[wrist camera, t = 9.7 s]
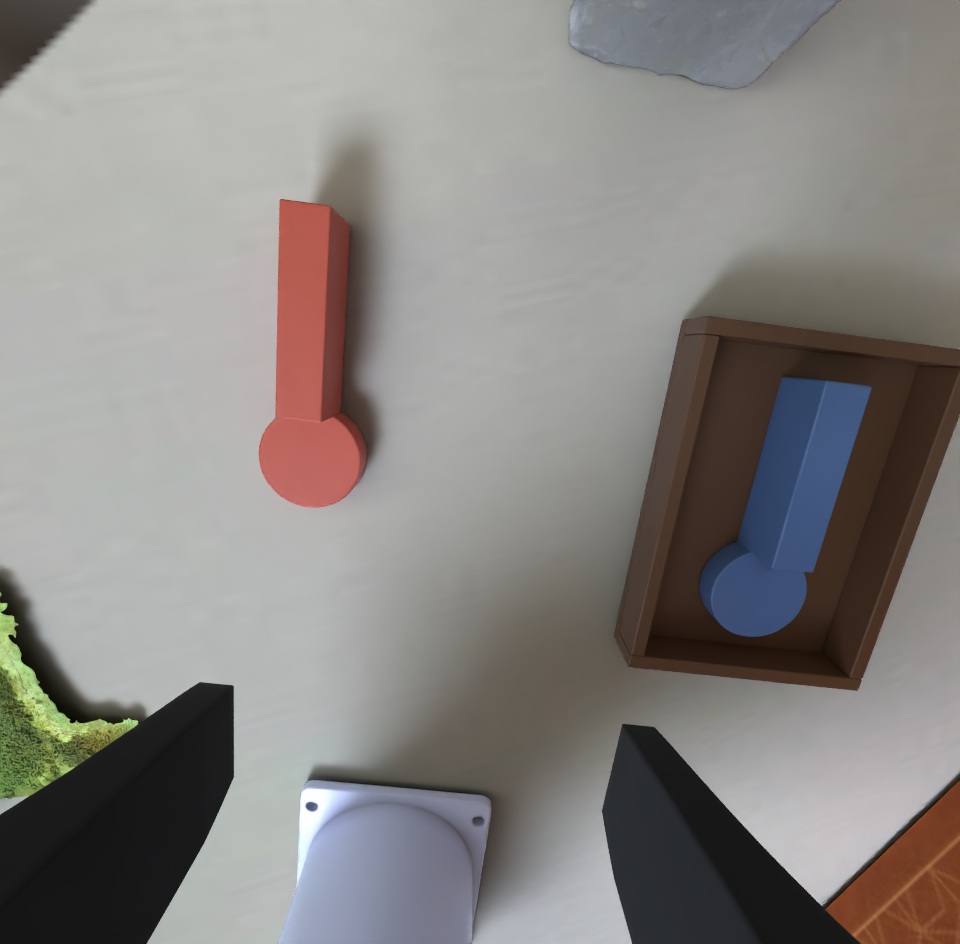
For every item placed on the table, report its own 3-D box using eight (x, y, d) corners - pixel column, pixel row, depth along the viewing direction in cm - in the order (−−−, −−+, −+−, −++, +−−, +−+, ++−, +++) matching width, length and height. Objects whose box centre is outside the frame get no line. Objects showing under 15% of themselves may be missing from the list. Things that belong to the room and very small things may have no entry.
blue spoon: (776, 626, 19) (814, 662, 16) (689, 617, 18) (716, 652, 16) (850, 384, 16) (906, 390, 14) (752, 372, 16) (794, 376, 14)
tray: (822, 658, 19) (858, 691, 18) (613, 636, 19) (628, 667, 17) (927, 351, 16) (984, 352, 15) (681, 319, 16) (708, 316, 14)
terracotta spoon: (364, 504, 18) (348, 525, 16) (269, 493, 18) (241, 513, 15) (382, 229, 15) (367, 210, 13) (274, 214, 15) (241, 193, 13)
